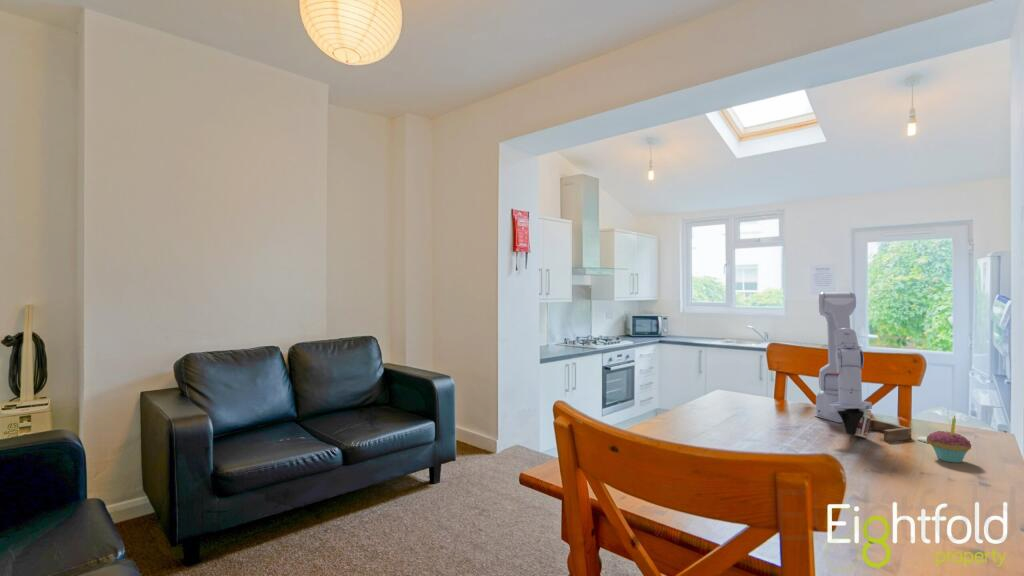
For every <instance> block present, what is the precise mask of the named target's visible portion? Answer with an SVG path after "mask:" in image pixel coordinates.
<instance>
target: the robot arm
mask: <svg viewBox="0 0 1024 576" xmlns="http://www.w3.org/2000/svg"><path fill="white" fill-rule="evenodd" d="M856 296H857V295H856V294H855V292H854V291H845V292H844V291H842V292H841V291H836V292H835V291H834V292H830V291H829V292H827V291H825V292H824V291H821V292H820V293H819V294H818V312H819V314H820V316H823V317H824V318H825V320H826V322H827V324H826V325H827V358H828V361H827V362H828V363H827V364H825V365H824V366H822V367H820V369H819V370H818V373H819V374H818V388H819V390H820V391H819V392H818V393H817V394H816V395H815V396H816V397H815V414H814V416H815V417H818V418H821V419H825V420H828V421H831V422H835V423H839V424H840V423H843V425H844V428H845V433H846V434H848V435H851V436H856V435H855V433H856V429H857V426H858V423H859V421H860V419H861V418H862V416H863V415H864V412H863V411H859V409H868V410H872V408H873V403H872V402H870V401H867V400H866V401H864V400H863V392H862V391H863V390H862V388H863V386H862V384H863V383H862V369H864V363H865V357H864V352H863V349H862V348H861V346H859V343H858V337H857V332H856V331H855V330H854V329H852V328H851V319H850V317H851V316H852V314H853V313H854V311H855V309H856V307H857V297H856Z"/></svg>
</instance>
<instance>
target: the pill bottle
mask: <svg viewBox="0 0 1024 576" xmlns="http://www.w3.org/2000/svg"><path fill="white" fill-rule="evenodd" d="M859 411H863V412H864V415H863V416H862V418H861V419H860V421H859V423H858V426H857V429H856V433H855V435H854V436H856V437H857V436H858V437H860V438H864V439H865V438H866V439H867V437H868V433H869V430H868V429H869V425H870V421H871V419H872V418H871V416H870V415H871V414H872V409H859Z"/></svg>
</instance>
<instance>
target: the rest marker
mask: <svg viewBox="0 0 1024 576" xmlns="http://www.w3.org/2000/svg"><path fill="white" fill-rule="evenodd" d="M916 439H917V440H918V441H919V442H922V443H924V444H929V443H928V442H927V436H918V437H916Z"/></svg>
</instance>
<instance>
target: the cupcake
mask: <svg viewBox="0 0 1024 576" xmlns="http://www.w3.org/2000/svg"><path fill="white" fill-rule="evenodd" d="M956 421H957V418H956V415H954V417H952V420H951V426H950V431H947V430H946V431H943V430H942V431H941V430H939V431H935V432H931V433H929V434H928V435H927V436H926V437H927V442H928V443H927V444H929V445H931V447H932V448H933V450H934V452H935V455H936V457H937V458H938V460H940V461H944V462H948V463H954V464H955V463H957V464H959V463H962V462H963V460H964V458H965V456H966V454H967V453H968V452H969V450H970V451H971V450H972V444H971V442H970V440H968V439H967V438H966V437H965V436H963V435H961V434H959V433H956V432H955V428H956Z"/></svg>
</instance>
